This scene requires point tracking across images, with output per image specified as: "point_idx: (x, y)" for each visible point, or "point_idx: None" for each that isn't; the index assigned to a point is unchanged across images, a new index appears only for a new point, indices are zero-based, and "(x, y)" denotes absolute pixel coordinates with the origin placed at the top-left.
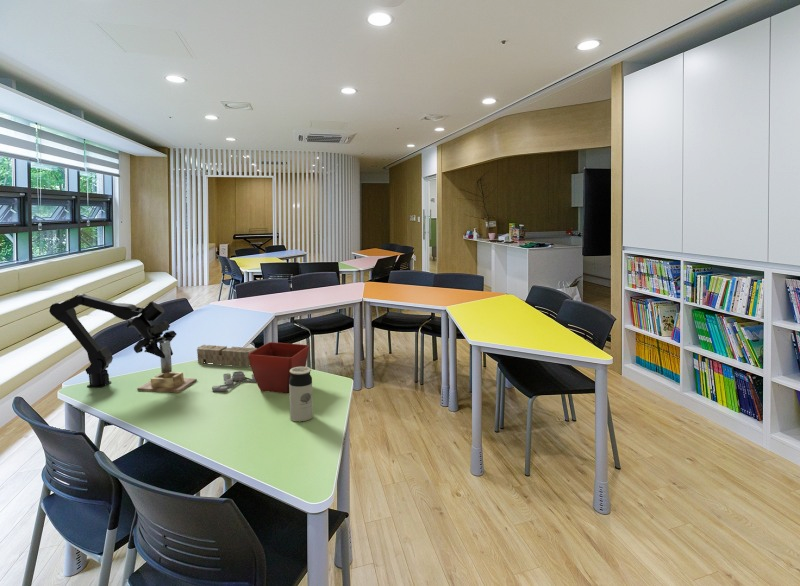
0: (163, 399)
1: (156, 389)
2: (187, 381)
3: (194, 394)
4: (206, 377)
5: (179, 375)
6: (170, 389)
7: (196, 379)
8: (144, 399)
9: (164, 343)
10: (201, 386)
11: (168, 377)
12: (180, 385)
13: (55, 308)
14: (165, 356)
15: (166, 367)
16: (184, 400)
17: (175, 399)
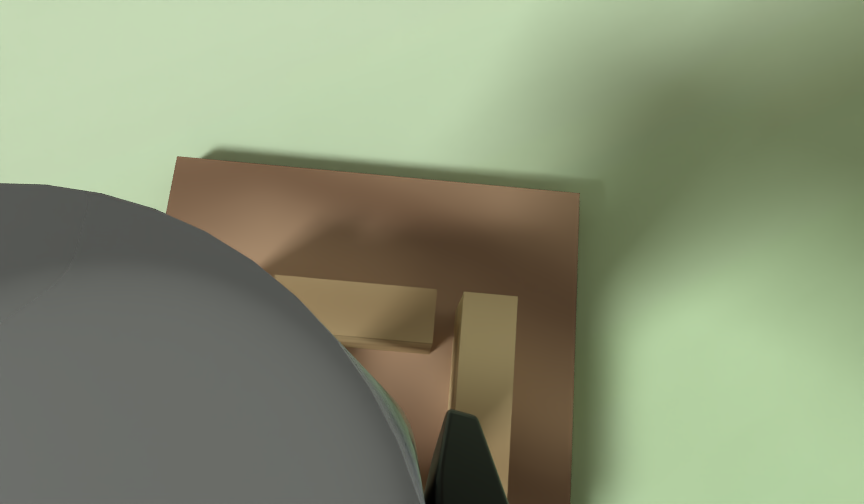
0: (777, 270)
1: (570, 481)
2: (277, 222)
3: (601, 27)
4: (62, 108)
5: (298, 279)
6: (564, 296)
7: (184, 159)
8: (817, 487)
9: (401, 457)
10: (369, 49)
11: None
12: (421, 243)
13: None
14: (406, 425)
15: (405, 416)
16: (764, 54)
17: (756, 149)
